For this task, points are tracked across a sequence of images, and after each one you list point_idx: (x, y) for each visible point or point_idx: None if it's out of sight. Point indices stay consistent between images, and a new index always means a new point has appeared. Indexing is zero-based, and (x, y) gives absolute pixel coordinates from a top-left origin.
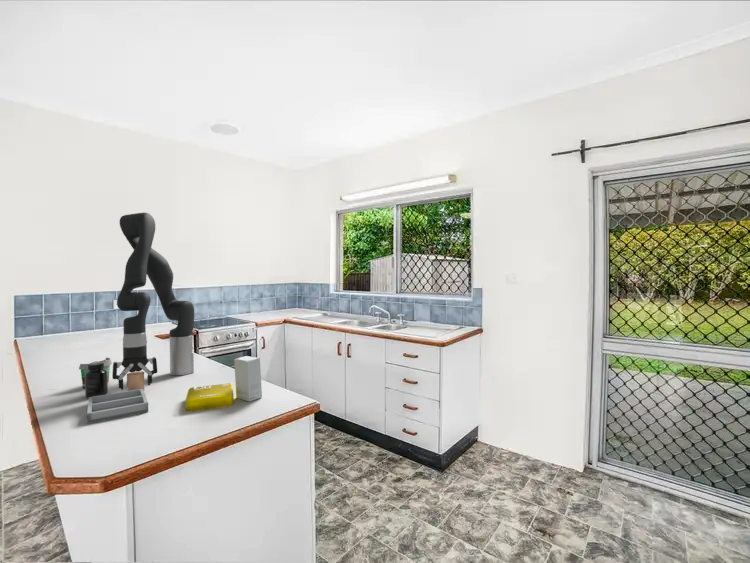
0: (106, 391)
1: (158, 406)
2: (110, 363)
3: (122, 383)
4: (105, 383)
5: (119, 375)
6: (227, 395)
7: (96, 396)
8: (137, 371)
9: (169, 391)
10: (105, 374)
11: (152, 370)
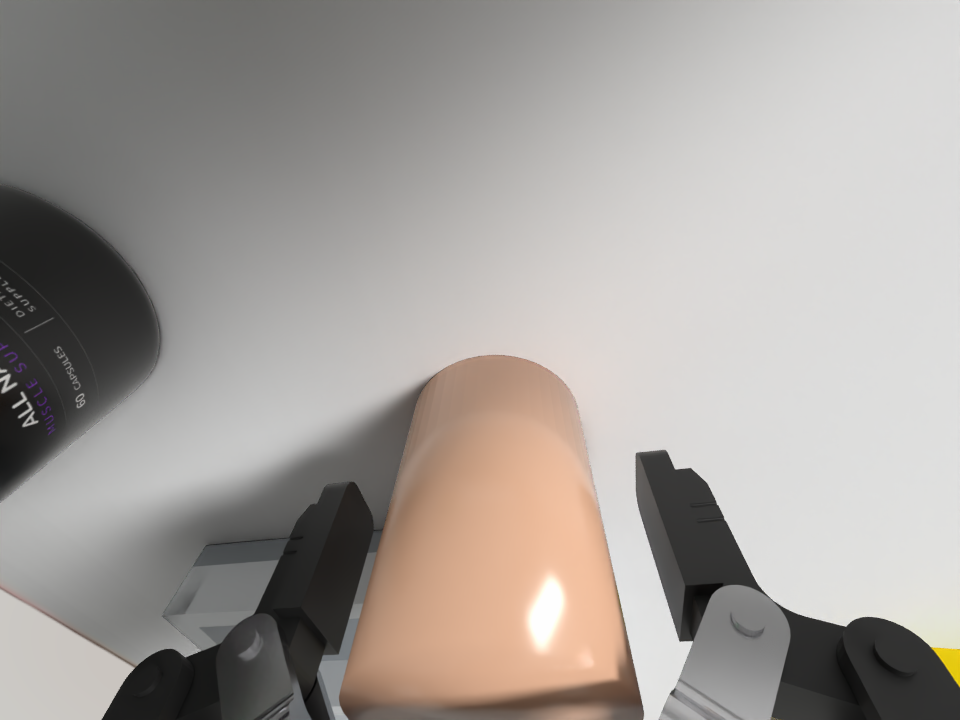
0: (139, 351)
1: (652, 677)
2: None
3: (345, 601)
4: (38, 442)
5: (230, 695)
6: None
7: (219, 621)
8: (509, 654)
9: (817, 476)
10: None
11: (829, 706)
